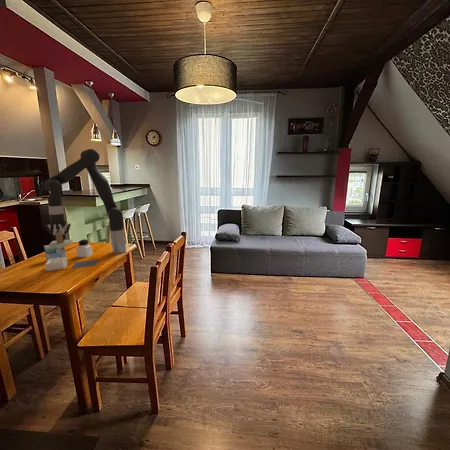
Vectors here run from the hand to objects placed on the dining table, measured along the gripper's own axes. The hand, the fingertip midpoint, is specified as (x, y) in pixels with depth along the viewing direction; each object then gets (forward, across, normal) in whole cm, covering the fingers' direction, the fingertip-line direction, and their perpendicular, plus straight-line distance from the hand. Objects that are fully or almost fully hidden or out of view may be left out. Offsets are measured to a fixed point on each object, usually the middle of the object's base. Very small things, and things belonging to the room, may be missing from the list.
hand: (60, 240), depth 158 cm
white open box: (+18, +4, -1) cm, 19 cm away
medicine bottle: (+18, -9, -20) cm, 28 cm away
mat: (+18, -12, 0) cm, 22 cm away
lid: (+2, 0, 0) cm, 2 cm away
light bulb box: (+18, +9, -20) cm, 28 cm away
